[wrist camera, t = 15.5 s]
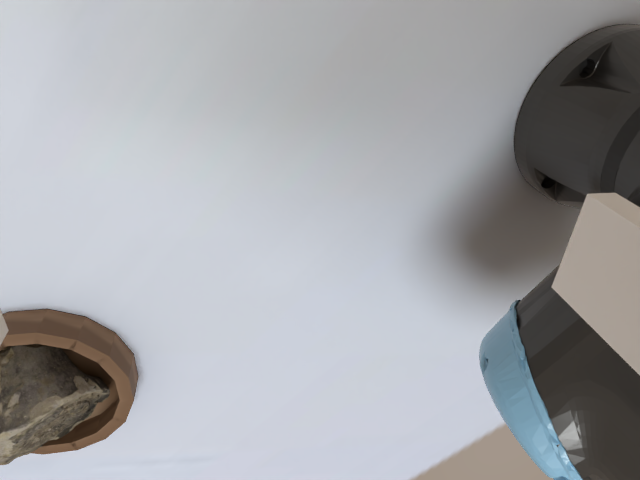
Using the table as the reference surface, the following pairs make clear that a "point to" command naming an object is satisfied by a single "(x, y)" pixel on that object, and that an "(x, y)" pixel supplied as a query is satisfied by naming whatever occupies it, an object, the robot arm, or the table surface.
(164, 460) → the table surface
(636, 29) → the robot arm
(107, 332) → the round tray
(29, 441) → the grey brown rock
